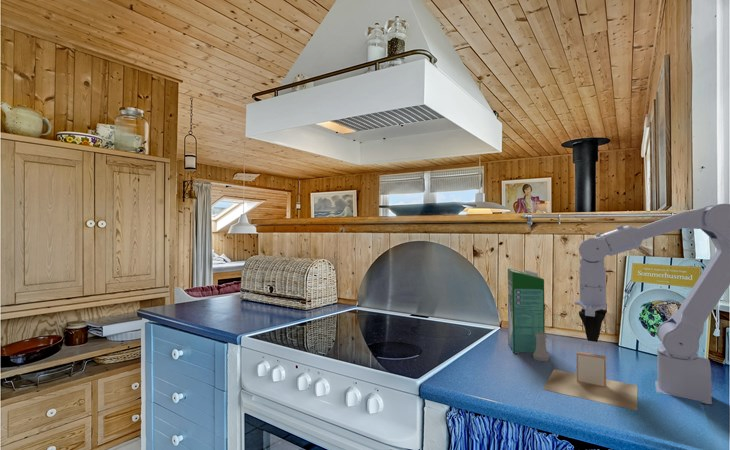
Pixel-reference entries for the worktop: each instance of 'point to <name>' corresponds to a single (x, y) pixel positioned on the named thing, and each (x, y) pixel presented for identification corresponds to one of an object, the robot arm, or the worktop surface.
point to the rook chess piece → (541, 347)
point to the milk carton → (525, 309)
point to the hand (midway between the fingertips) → (593, 339)
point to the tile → (591, 369)
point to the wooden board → (593, 390)
